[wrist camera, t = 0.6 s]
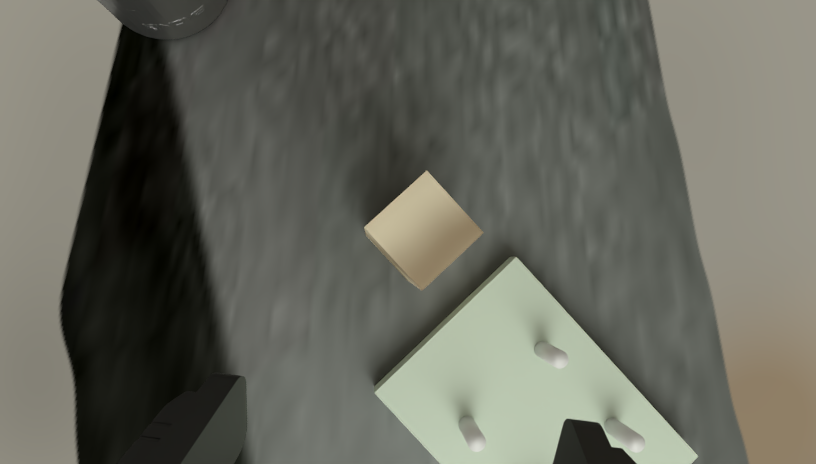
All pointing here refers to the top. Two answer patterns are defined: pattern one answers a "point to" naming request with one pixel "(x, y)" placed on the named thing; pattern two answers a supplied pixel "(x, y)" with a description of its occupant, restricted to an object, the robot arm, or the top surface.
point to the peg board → (518, 383)
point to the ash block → (422, 231)
